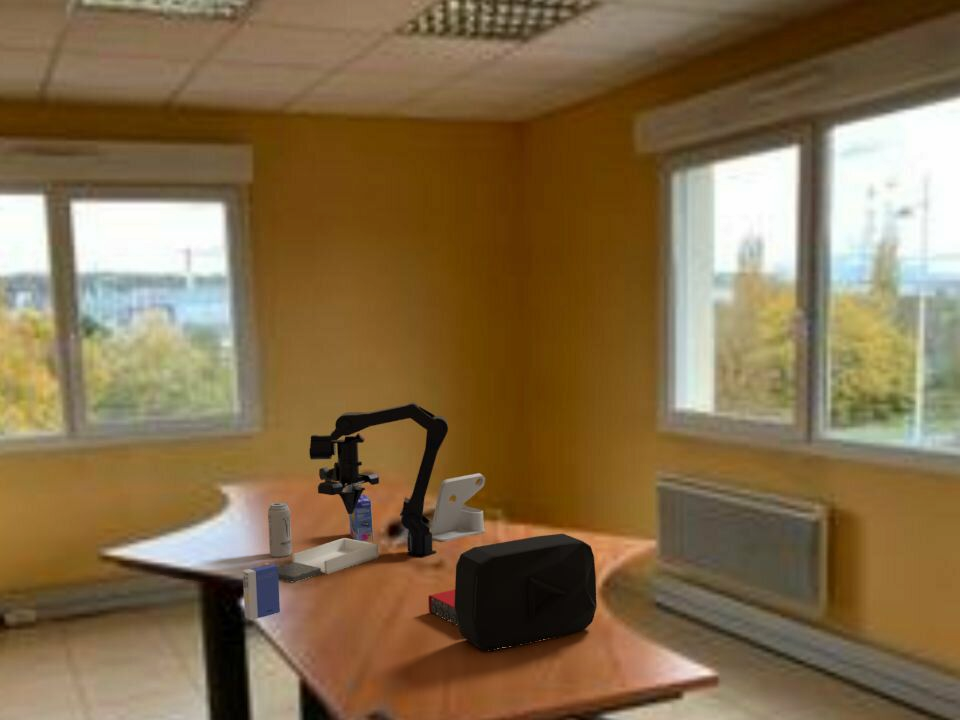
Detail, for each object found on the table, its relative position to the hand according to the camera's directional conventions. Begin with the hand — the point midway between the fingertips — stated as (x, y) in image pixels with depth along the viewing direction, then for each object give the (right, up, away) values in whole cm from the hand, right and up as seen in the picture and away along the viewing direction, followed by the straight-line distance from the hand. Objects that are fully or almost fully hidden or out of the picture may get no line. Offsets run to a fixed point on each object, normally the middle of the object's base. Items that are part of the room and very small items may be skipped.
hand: (350, 513), depth 275 cm
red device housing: (+35, -16, -53) cm, 65 cm away
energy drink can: (-20, -13, +3) cm, 24 cm away
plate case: (-3, -13, -6) cm, 14 cm away
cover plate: (-12, -14, -17) cm, 25 cm away
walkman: (-14, -17, -49) cm, 53 cm away
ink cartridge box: (+1, -11, +21) cm, 23 cm away
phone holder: (+29, -10, +23) cm, 38 cm away
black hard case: (+47, -16, -66) cm, 83 cm away
